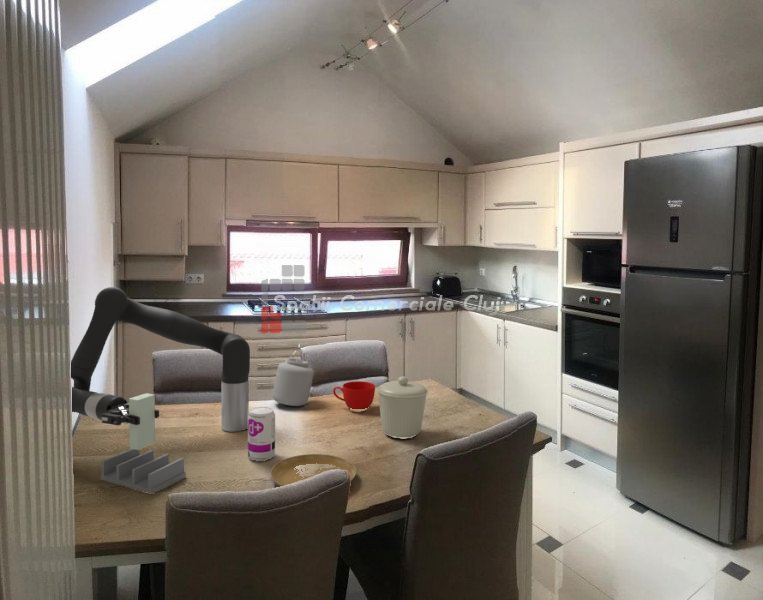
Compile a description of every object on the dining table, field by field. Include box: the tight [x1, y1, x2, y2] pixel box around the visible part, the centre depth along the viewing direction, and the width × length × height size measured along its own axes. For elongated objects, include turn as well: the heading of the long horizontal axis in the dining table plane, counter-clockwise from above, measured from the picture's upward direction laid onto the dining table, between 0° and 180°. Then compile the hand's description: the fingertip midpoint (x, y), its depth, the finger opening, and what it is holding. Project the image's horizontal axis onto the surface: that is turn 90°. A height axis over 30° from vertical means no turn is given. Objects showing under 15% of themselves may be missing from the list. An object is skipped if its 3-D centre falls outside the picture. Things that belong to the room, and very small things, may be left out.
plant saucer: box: [270, 453, 357, 488], centre depth 153 cm, size 24×24×3 cm
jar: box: [271, 343, 316, 407], centre depth 219 cm, size 19×15×25 cm
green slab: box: [128, 392, 156, 451], centre depth 149 cm, size 3×6×14 cm, turn 155°
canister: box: [376, 375, 429, 437], centre depth 189 cm, size 18×18×21 cm
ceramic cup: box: [332, 380, 376, 409], centre depth 215 cm, size 13×17×10 cm
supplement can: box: [247, 406, 276, 462], centre depth 167 cm, size 8×8×15 cm
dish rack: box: [100, 448, 186, 495], centre depth 150 cm, size 19×12×6 cm, turn 66°
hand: (148, 417), depth 148 cm, fingers closed on green slab, 6 cm apart
